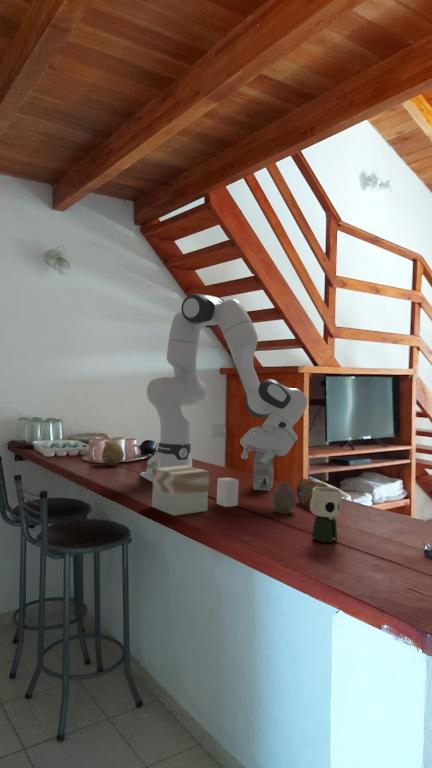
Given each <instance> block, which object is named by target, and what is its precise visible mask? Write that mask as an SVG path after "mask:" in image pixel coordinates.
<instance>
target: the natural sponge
mask: <svg viewBox="0 0 432 768" xmlns="http://www.w3.org/2000/svg"><path fill="white" fill-rule="evenodd" d="M124 457H125V452H124V451H123V448H122V446H121V445H120V443H117V442H115V441H113V442H109V443H106V444H105V446H104V448H103V450H102V453H101V459H102V461H103V462H104V463H105V464H107V465H109V466H111V467H113V466H115V465H116V464H117V463H119V462H121V461H122V460H123V459H124Z"/></svg>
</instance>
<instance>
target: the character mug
mask: <svg viewBox="0 0 432 768" xmlns="http://www.w3.org/2000/svg"><path fill="white" fill-rule="evenodd" d="M342 499H343V498H342V490H341V489H339V488H334V487H329V486H327V487H315V488H313V490H312V499H311V500H310V507H309V510H310V512H311V513H312V514H313V515H315V517H314V522H313V527H312V533H311V537H312V538H313V539H315V540H317V541H319V542H320V541H321V542H323V543H333V539H334V542H336V541H338V530H337V528H338V527H337V520H336V518H337V517H339V516H340V514H341V507H342Z"/></svg>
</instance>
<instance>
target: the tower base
mask: <svg viewBox="0 0 432 768" xmlns="http://www.w3.org/2000/svg"><path fill="white" fill-rule="evenodd" d="M151 493H152V496H151V498H152V499H151V507H152V508H155V509H157V510H160V511H161V512H164V513H167V514H169V515H172V516H174V517H175V516H179V515H188V514H193V513H194V514H195V513H200V512H201V513H202V512H207V511H208V502H209V501H208V500H209V490H208V491H207V492H200V493H192V494H184V495H177V496H175V495H172V494H169V493H166V492H163V491H161V490H158V489H155V488H153V487H152V492H151Z"/></svg>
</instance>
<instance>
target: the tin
mask: <svg viewBox="0 0 432 768" xmlns="http://www.w3.org/2000/svg"><path fill="white" fill-rule="evenodd" d="M315 487H328V485H327V484H325V483H324V482H321V481H317V480H314V479H311V478H301V479H300V480H299V482H298V484H297V486H296V496H297V499H298V501H299V503H300V504H301V505H303V506H305V507H309V508H310V500H311V499H312V490H313V488H315Z"/></svg>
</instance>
